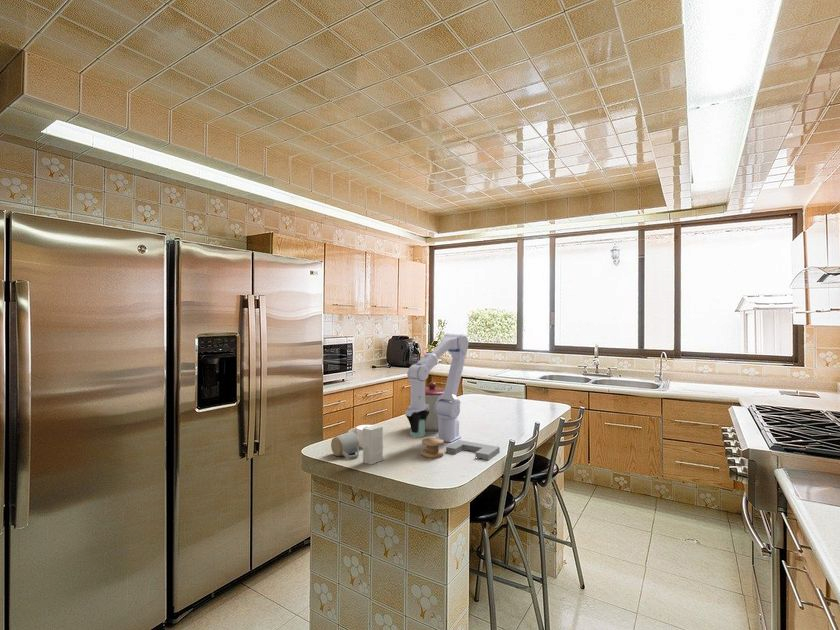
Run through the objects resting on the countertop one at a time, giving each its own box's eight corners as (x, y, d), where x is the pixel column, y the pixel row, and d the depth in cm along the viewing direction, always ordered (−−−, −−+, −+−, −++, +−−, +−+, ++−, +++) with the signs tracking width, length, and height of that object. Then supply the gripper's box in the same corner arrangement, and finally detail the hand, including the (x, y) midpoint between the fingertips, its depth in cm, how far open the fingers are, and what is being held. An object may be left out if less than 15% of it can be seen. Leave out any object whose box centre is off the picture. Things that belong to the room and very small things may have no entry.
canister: (405, 425, 203) (406, 380, 203) (440, 422, 210) (440, 378, 210) (422, 435, 186) (422, 386, 186) (458, 431, 194) (459, 383, 194)
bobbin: (428, 449, 166) (428, 436, 166) (447, 453, 161) (447, 440, 161) (417, 455, 159) (417, 441, 159) (436, 459, 155) (436, 445, 155)
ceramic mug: (329, 454, 159) (329, 433, 159) (347, 449, 165) (348, 429, 165) (346, 461, 152) (346, 440, 152) (364, 456, 158) (365, 435, 158)
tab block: (415, 433, 171) (415, 418, 171) (424, 434, 169) (424, 419, 169) (410, 435, 168) (410, 420, 168) (419, 437, 166) (419, 421, 166)
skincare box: (374, 458, 156) (374, 424, 156) (383, 460, 153) (383, 426, 153) (361, 462, 151) (362, 427, 151) (370, 465, 148) (370, 430, 148)
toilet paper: (345, 446, 170) (345, 428, 170) (368, 440, 178) (369, 423, 178) (357, 450, 164) (358, 432, 164) (381, 445, 172) (381, 427, 172)
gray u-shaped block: (458, 445, 172) (458, 440, 172) (499, 452, 163) (499, 446, 163) (446, 452, 163) (446, 447, 163) (488, 460, 154) (488, 454, 154)
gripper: (418, 392, 177) (418, 425, 177) (398, 397, 164) (398, 433, 164) (433, 393, 173) (433, 427, 173) (414, 399, 160) (414, 436, 160)
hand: (417, 430), depth 168 cm, fingers closed on tab block, 4 cm apart
